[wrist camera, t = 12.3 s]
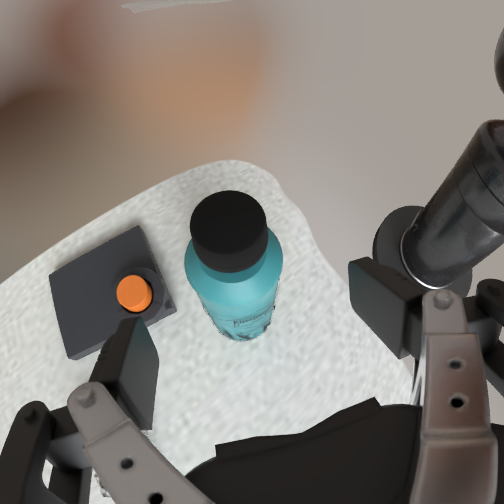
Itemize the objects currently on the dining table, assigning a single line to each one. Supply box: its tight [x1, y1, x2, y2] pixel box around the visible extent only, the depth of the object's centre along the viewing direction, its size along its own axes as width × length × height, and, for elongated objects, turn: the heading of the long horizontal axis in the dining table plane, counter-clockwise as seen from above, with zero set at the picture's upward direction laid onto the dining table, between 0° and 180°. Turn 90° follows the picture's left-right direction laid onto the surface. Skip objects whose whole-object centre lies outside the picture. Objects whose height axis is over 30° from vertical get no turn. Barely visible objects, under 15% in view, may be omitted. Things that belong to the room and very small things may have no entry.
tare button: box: [117, 275, 152, 312], centre depth 29 cm, size 4×4×2 cm
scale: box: [49, 225, 177, 360], centre depth 32 cm, size 15×13×4 cm
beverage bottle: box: [184, 190, 283, 342], centre depth 23 cm, size 6×7×20 cm
